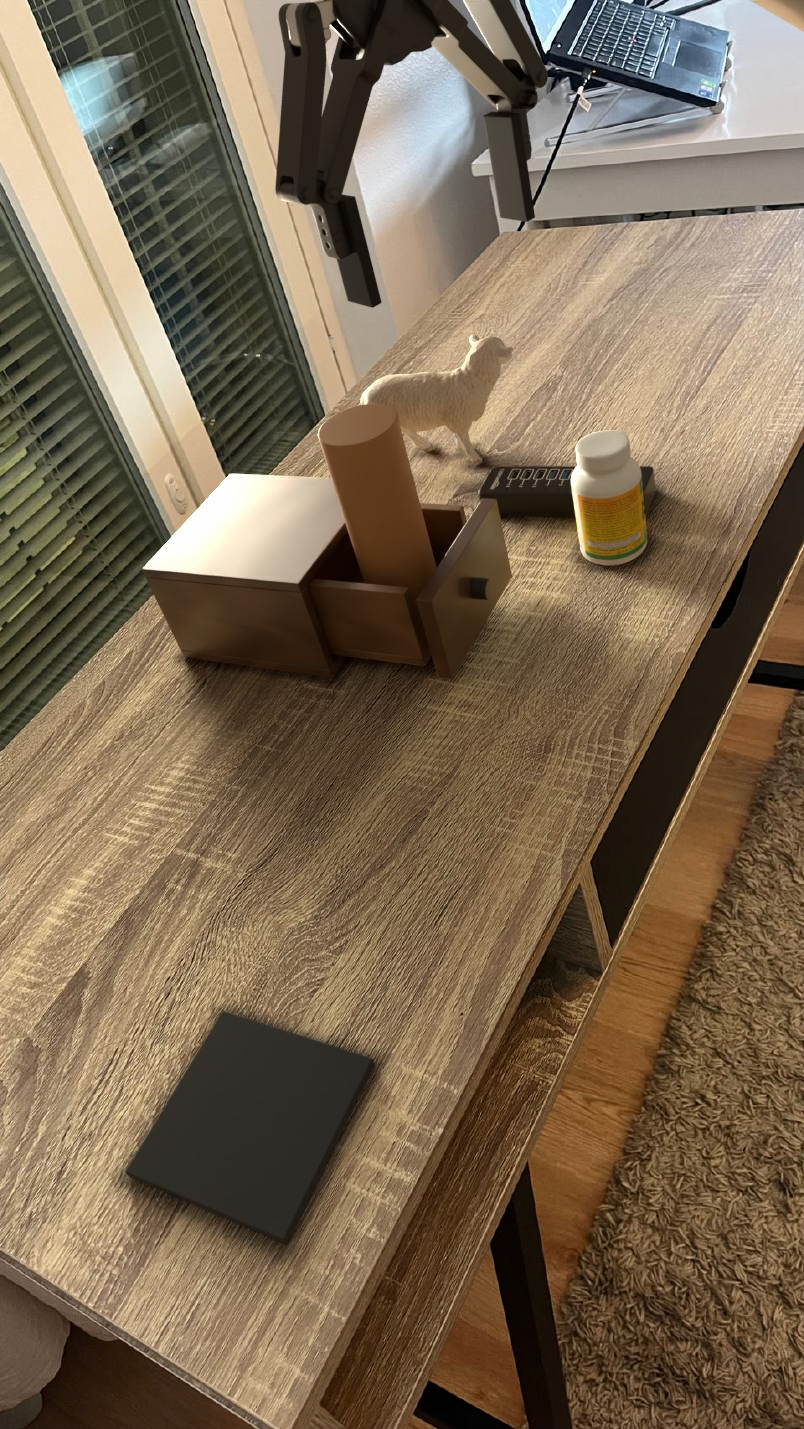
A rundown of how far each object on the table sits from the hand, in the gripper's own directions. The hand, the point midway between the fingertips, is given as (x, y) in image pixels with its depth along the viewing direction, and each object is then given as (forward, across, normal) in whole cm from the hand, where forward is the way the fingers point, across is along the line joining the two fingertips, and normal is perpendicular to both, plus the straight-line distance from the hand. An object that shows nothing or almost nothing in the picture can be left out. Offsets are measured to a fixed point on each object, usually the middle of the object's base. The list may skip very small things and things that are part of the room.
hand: (443, 259), depth 71 cm
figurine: (+26, -10, -18) cm, 33 cm away
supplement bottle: (+26, -7, +5) cm, 27 cm away
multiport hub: (+26, -10, -3) cm, 28 cm away
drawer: (+25, +9, -1) cm, 26 cm away
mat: (+26, +42, +24) cm, 55 cm away
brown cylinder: (+24, +9, -1) cm, 25 cm away
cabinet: (+26, +14, -11) cm, 31 cm away
